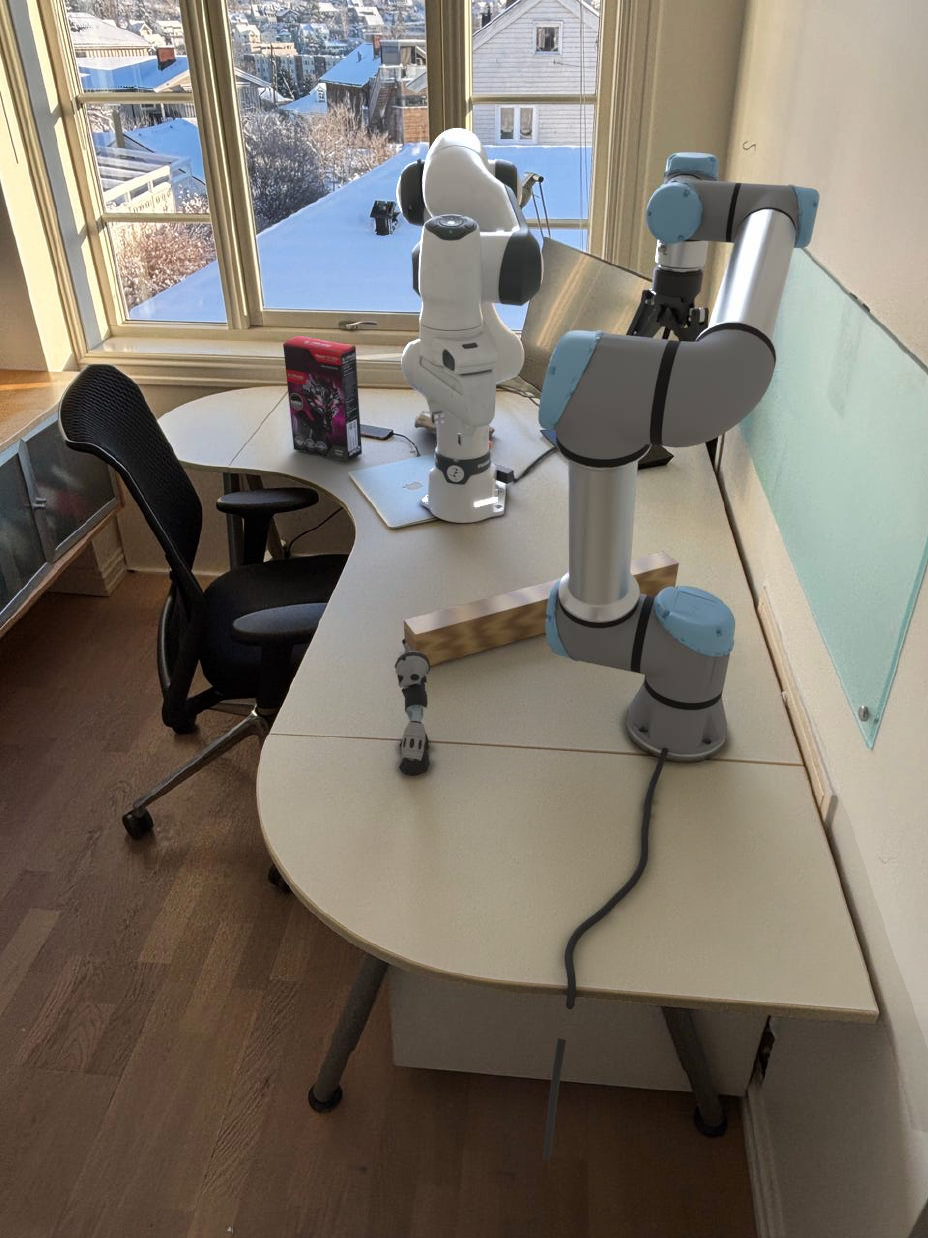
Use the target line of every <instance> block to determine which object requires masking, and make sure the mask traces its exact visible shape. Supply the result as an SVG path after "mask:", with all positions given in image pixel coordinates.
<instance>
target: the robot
mask: <svg viewBox="0 0 928 1238" xmlns="http://www.w3.org/2000/svg"><path fill="white" fill-rule="evenodd" d="M401 642H402V645H403V648H404V653H403V654H401V655H400V656H399V657H398V658H396V661H395V663H394V669H395V674H396V676H397V681H398V683H397V685H398V687H399V688H402V689H401V693H402V695H403V697H404V711H405V713H406V716H407V718H408V721H409V722H408V723H407V725H406V727H405V729H404V731H403V734H402V735H403V736H402V740H401V741H400V743H399V745H398V746H399V748H400V753H401V758H402V759H401V762H400V764H399V766H398V769H399V770H400V771H401V772H402V773H403V774H405V775H408V776H416V775H419V774H422V773H425V772H427V771H428V769H429V767H430V765H431V764H430V763H431V762H430V756H429V755H430V754H429V752H428V750H429V749H430V745H429V744H430V743H429V738H428V734H427V732H426V728H425V724H424V723H423V722H422V721H423V719H424V708H428V705H429V704H428V702H429V701H428V694H427V690H426V684H427V683H428V677H427V675H428V674H429V673H430V670H431V666H430V662H429V660H428V658H427V657H426V656H425V655H424V654H422V653H420V652H417V651H411V650H410V648H409V646H408V645H407V643H406V641H405V638H403V639H402V640H401ZM405 651H406V653H405Z"/></svg>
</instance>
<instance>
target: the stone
mask: <svg viewBox="0 0 928 1238" xmlns="http://www.w3.org/2000/svg"><path fill="white" fill-rule="evenodd" d="M414 420H415V422H414V424H413V425H414V428H416V429H419V428H420V429H421V428H422V429H423V428H424V429H425V430H426V431H427V432H428V433H430V434H433V435H435V438H436V439H437V430H436V425H435V424H433V423H432V422H431V420H430V410H422V411H421V412H420V413H419V415H416V417H415V418H414ZM495 431H496V429H495V428H494V427H492V426H489V439H491V437H492V436H493V435H494V433H495Z"/></svg>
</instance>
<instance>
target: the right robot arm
mask: <svg viewBox="0 0 928 1238" xmlns="http://www.w3.org/2000/svg"><path fill="white" fill-rule="evenodd" d="M665 167H666V168H665V171H664V173H663V178H664V180H663V183H662V184H661V185H659V186H658V187H657V188H656V190H655V191H654V192H653V193H652V195H651V197H650V198H649V201H648V203H647V206H646V210H645V223H646V226H647V229H648V230H649V232H650V233H651V235H652V236H653V237H654V238H655V239H656V240H657V243H656V250H655V257H654V258H655V260H654V261H655V263H656V264H657V265H656V266H655V267H654V268H653V274H652V281H651V288H647V289H643V290H642V292H641V297H640V302H639V305H638V307H637V309H636V312H635V313H634V315H633V318H632V320H631V322H630V325H629V327H628V329H627V331H626V333H625V334H620V333H618V334H617V333H610V332H603V330H602V329H597V330H596V331H592V330H576V329H574V330H569V331H567V332H566V333H564V334H563V335H562V336H561V337H560V338H559V339H558V341H557V343H556V345H555V347H554V349H553V352H552V354H551V357H550V359H549V362H548V365H547V369H546V372H545V376H544V380H543V384H542V389H541V393H540V398H539V404H538V412H537V413H538V415H537V416H538V417H537V418H538V424H539V426H540V428H542V429H544V430H547V431H548V432H552V431H555V444H556V445H557V450H558V452H559V453H560V455H561V456H562V457H563V458H565V459H566V460H567V463H568V464H567V465H568V468H567V469H568V474H567V475H568V476H567V477H568V571H567V572H566V573H565V574H564V575H563V576H562V577H561V578H562V579H561V580H559V581H557V582H556V583H555V584H554V586H553V588H552V590H551V593H550V595H549V599H548V603H547V609H546V615H547V619H546V622H545V629H546V633H545V637H546V638H545V639H546V641H547V645H548V647H549V649H550V650H551V651H552V652H553V653H554V654H555V655H557V656H560V657H564V658H568V659H570V660H571V661H573V662H582V663H586V664H587V663H588V664H592V665H597V666H602V667H607V668H612V669H616V670H621V671H624V672H625V671H626V672H631V673H636V674H641V675H644V677H643V682H642V684H641V685H640V688H639V689H638V691H637V692H636V694H635V695H634V697H633V699H632V701H631V702H630V704H629V706H628V708H627V711H626V719H625V728H626V732H627V734H628V736H629V738H630V739H631V741H632V742H634V744H636V745H637V746H638V747H639V748H640V749H641V750H643V751H645V752H646V753H648V754H650V755H651V756H654V757H656V758H658V760H657V762H656V765H655V768H654V771H653V773H652V776H651V778H650V781H649V784H648V787H647V790H646V795H645V800H644V805H643V813H642V821H641V831H640V857H639V861H638V865H637V867H636V868H635V871H633V872H634V873H633V874H632V876H630V878H629V880H628V881H627V882H626V883H625V884H624V885H623V886H622V887H621V888H620V889H619V890H618V891H617V892H616V893H615V894H614V895H613V896H612V897H611V898H610V899H609V900H608V901H607V902H606V903H605V904H604V905H603V906H602V907H601V908H599V910H597V911H596V912H595V913H594V914H591V916H590V917H588V918H587V919H586V920H585V921H583V922H582V923H581V924H579V926H578V927H576V929H575V930H574V931H573V933H572V934H571V936H570V938H569V939H568V942H567V944H566V947H565V952H564V967H565V972H566V973H565V974H566V981H567V982H566V983H567V990H566V991H567V992H566V1001H565V1007H566V1008H567V1010H572V1009H574V1007H575V1004H576V997H577V996H576V994H577V979H576V971H575V965H574V951H575V947H576V945H577V943H578V942H579V940H580V938H581V937H582V936H583V935H584V934H585V933H586V932H587V931H588V930H589V929H590V928H591V927H593V926H594V925H595V924H597V923H598V922H600V921H601V920H602V919H603V918H605V917H606V916H607V915H608V914H609V913H610V912H611V911H612V910H613V909H614V908H615V907H616V906H617V905H618V903H620V901H622V900H623V899H624V898H625V897H626V896H627V895H628V894H629V893H630V892H631V891H632V889H633V888H634V887H635V886H636V885H637V883H638V881H640V879H641V877H642V876H643V873H644V870H645V869H646V866H647V863H648V858H649V831H650V821H651V812H652V805H653V799H654V795H655V789H656V786H657V783H658V781H659V778H660V776H661V772H662V770H663V768H664V764H665V762H666V761H670V762H675V763H694V762H700V761H703V760H706V759H709V758H711V757H714V755H716V754H718V752H720V751H721V750H722V748H723V747H724V744H725V743H726V740H727V739H726V738H727V733H728V721H727V716H726V712H725V708H724V707H725V706H724V701H723V692H724V686H725V682H726V678H727V677H726V676H727V672H728V666H729V661H730V657H731V653H732V652H733V649H734V646H735V638H734V637H735V631H736V618H735V616H734V614H733V611H732V610H731V608H730V607H729V606H728V605H727V604H726V603H724V601H723V600H722V599H721V598H719V597H718V596H717V595H715V594H714V593H713V594H712V593H711V592H709V591H706V590H704V589H702V588H698V587H694V586H689V585H676V586H675V588H674V587H668V588H665V589H663V590H662V591H660V592H659V594H658V595H657V596H656V597H655V596H649V595H645V594H640V591H639V585H638V582H637V580H636V579H635V577H634V576H633V575H632V574H631V573H630V569H631V560H632V553H633V540H634V539H633V538H634V523H635V510H636V497H637V495H636V494H637V482H638V481H637V480H638V468H639V467H638V466H639V461H640V460H642V458H644V457H645V456H647V454H648V453H649V451H650V449H651V447H652V446H660V447H666V448H667V447H668V448H675V449H676V448H688V447H694V446H698V445H701V444H704V443H708V442H710V441H712V440H714V439H716V438H718V437H721V436H722V435H724V434H726V433H727V432H729V431H730V430H732V429H733V428H735V426H737V425H738V424H740V423H741V422H742V421H743V420H744V419H745V418H746V417H747V416H748V415H749V414H750V413H751V412H753V411H754V409H755V408H756V407H757V406H758V404H759V403H760V402H761V401H762V399H763V398H764V396H765V394H766V392H767V391H768V389H769V386H770V385H771V382H772V380H773V376H774V372H775V368H776V363H777V350H776V346H775V344H774V342H773V337H774V333H775V328H776V324H777V320H778V316H779V312H780V307H781V303H782V299H783V295H784V290H785V286H786V282H787V278H788V274H789V270H790V265H791V261H792V257H793V253H794V249H805V248H807V247H808V246H809V245H810V244H811V242H812V237H813V233H814V227H815V223H816V218H817V213H818V209H819V204H820V203H819V202H820V197H821V195H820V193H819V191H818V190H817V189H815V188H813V187H804V186H798V185H794V184H787V185H786V184H785V185H784V184H765V183H764V184H763V183H748V182H747V183H746V182H736V181H735V182H733V181H719V177H718V176H719V169H720V168H719V167H720V160H719V158H718V157H717V156H716V155H714V154H711V153H706V152H693V151H692V152H689V151H688V152H686V151H685V152H676V153H675V152H674V153H672V154H671V155H670V156H668V158H667V160H666V166H665ZM709 242H715V243H716V242H717V243H728V244H733V245H732V248H731V251H730V255H729V257H728V261H727V264H726V267H725V270H724V274H723V277H722V280H721V284H720V287H719V290H718V293H717V297H716V300H715V303H714V306H713V309H712V313H711V317H709V315H710V309H709V308H708V307H696V303H695V300H696V298H697V296H698V295H699V294H701V292H702V286H703V280H704V273H705V271H704V270H703V268H702V267H704V266H705V265H706V263H707V262H706V261H707V255H708V253H707V252H708V246H709ZM662 328H667V329H668V330H670V331H672V332H673V335H674V336H675V337H676V338H677V340H674V339H665V338H658V337H657V338H655V336H656V335H657V333H658V332H659V331H660V330H661V329H662ZM566 1045H567V1039H563V1038H559V1037H558V1038H557V1042H556V1049H555V1055H554V1061H553V1067H552V1074H551V1082H550V1087H549V1089H550V1090H549V1098H548V1106H547V1116H546V1117H547V1118H546V1128H545V1137H544V1145H543V1154H542V1158H543V1159H544V1160H545V1161H550V1159H551V1158H552V1148H553V1141H554V1133H555V1132H554V1131H555V1125H556V1124H555V1122H556V1113H557V1104H558V1097H559V1091H560V1090H559V1089H560V1081H561V1075H562V1069H563V1068H562V1067H563V1063H564V1055H565V1050H566Z"/></svg>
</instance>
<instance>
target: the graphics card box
mask: <svg viewBox="0 0 928 1238" xmlns="http://www.w3.org/2000/svg"><path fill="white" fill-rule="evenodd" d="M282 346H283V355H284V365H285V374H286V375H285V376H286V383H287V384H286V386H287V394H288V405H289V414H290V423H291V425H290V427H291V436H292V444H293V445H292V447H293V451H294V450H296V451H299V452H304V453H307V454H312V455H315V456H316V455H317V456H321V457H325V458H329V459H332V460H338V461H342V462H346V463H349V462H351V461H352V460H354V459H355V458H357V457H358V456H361V455H362V453H363V447H362V431H361V429H362V428H361V416H360V415H361V414H360V402H359V401H360V400H359V384H358V367H357V366H358V364H357V347H356V345H355V344H346V343H340V342H335V341H329V340H324V339H319V338H313V337H309V336H304V335H296V336H292V337H291V338H289V339H288V340H286V341H285V342H284V343H283V344H282Z"/></svg>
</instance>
